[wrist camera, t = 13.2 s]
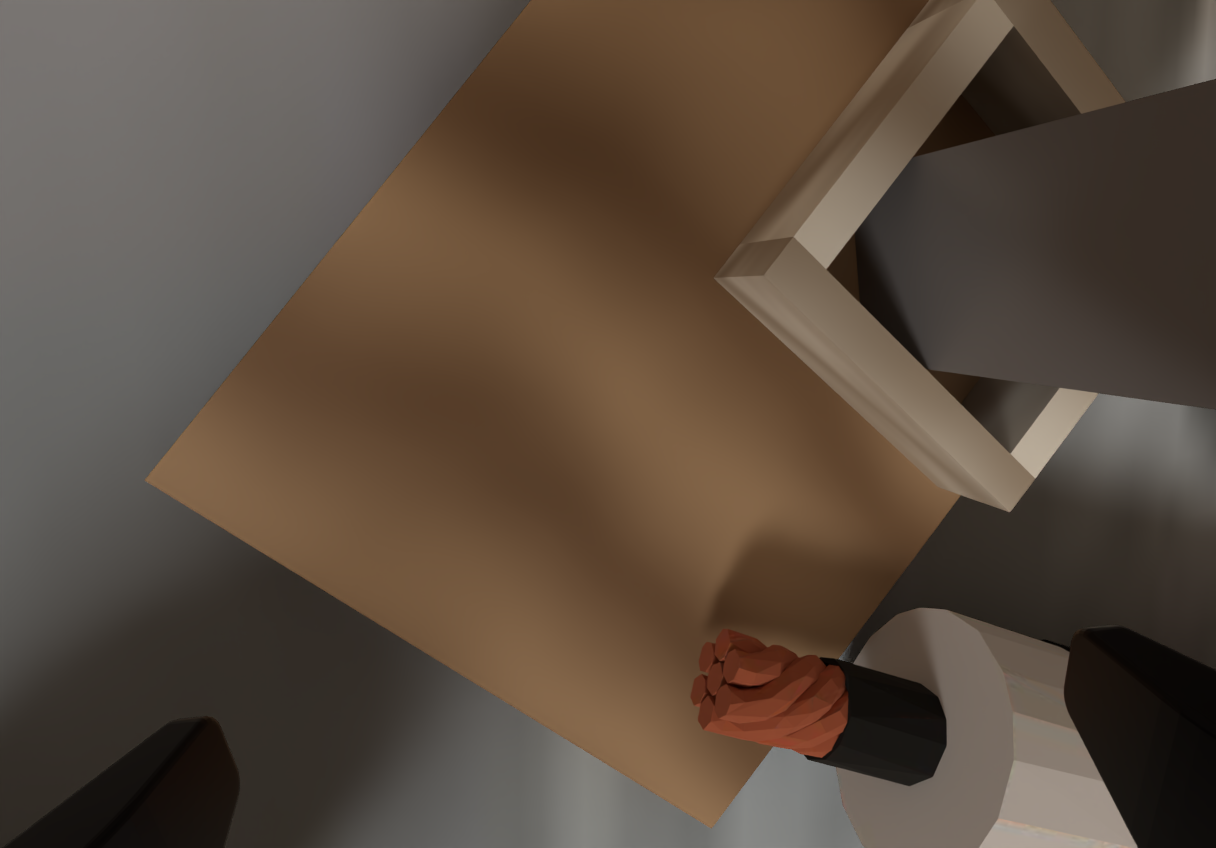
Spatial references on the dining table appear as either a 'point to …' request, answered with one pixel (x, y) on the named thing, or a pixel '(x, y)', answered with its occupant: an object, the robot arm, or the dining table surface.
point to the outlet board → (639, 360)
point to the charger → (1060, 253)
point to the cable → (925, 732)
